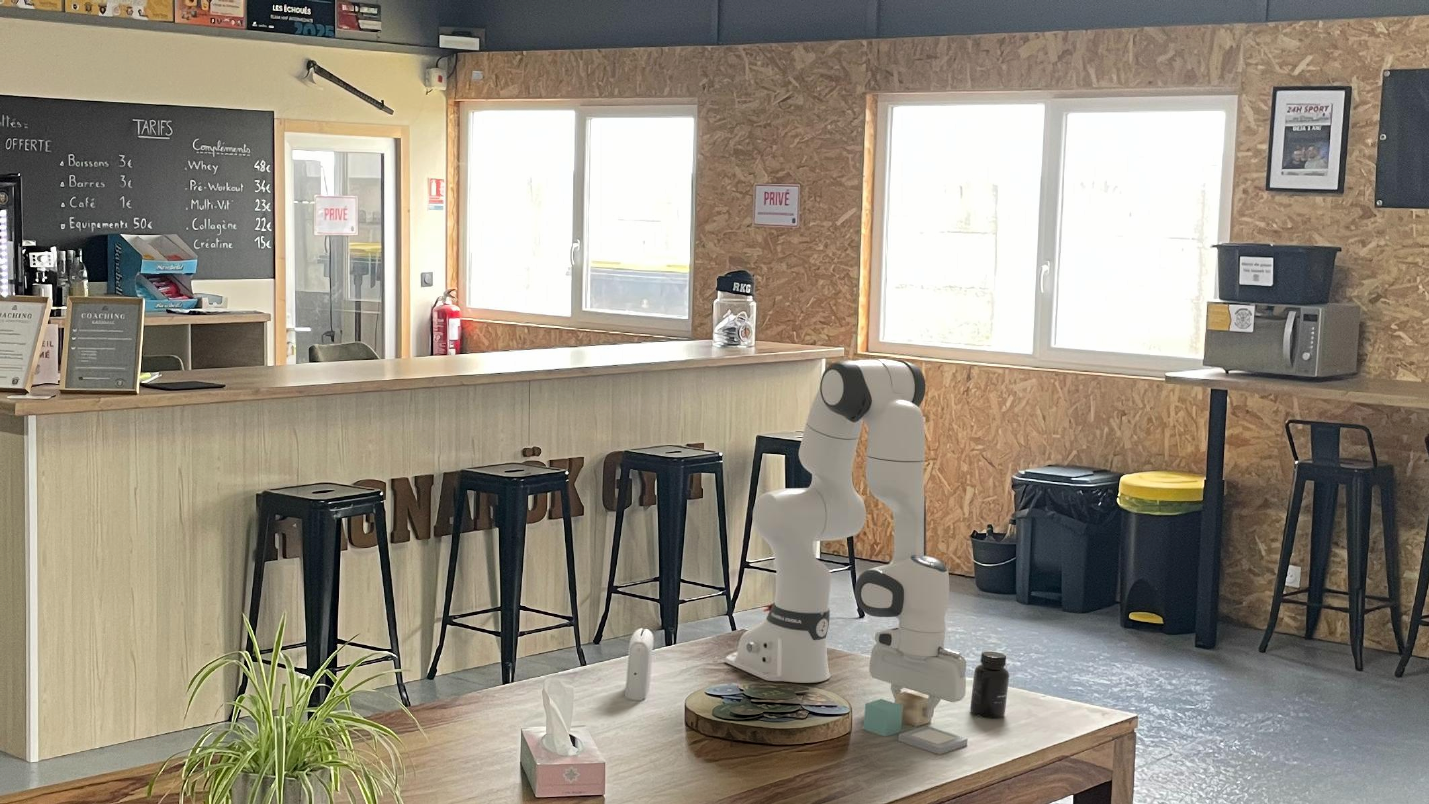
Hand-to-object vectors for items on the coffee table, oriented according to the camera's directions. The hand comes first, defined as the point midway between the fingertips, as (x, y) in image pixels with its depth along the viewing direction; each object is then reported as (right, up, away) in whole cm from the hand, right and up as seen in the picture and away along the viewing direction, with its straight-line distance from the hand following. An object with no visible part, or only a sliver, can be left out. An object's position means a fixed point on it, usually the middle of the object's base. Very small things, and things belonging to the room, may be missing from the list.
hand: (913, 712), depth 302 cm
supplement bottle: (+16, -2, +9) cm, 18 cm away
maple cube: (0, -2, 0) cm, 2 cm away
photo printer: (-53, +3, +3) cm, 53 cm away
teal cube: (-7, -2, -7) cm, 10 cm away
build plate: (+2, -3, -12) cm, 13 cm away
